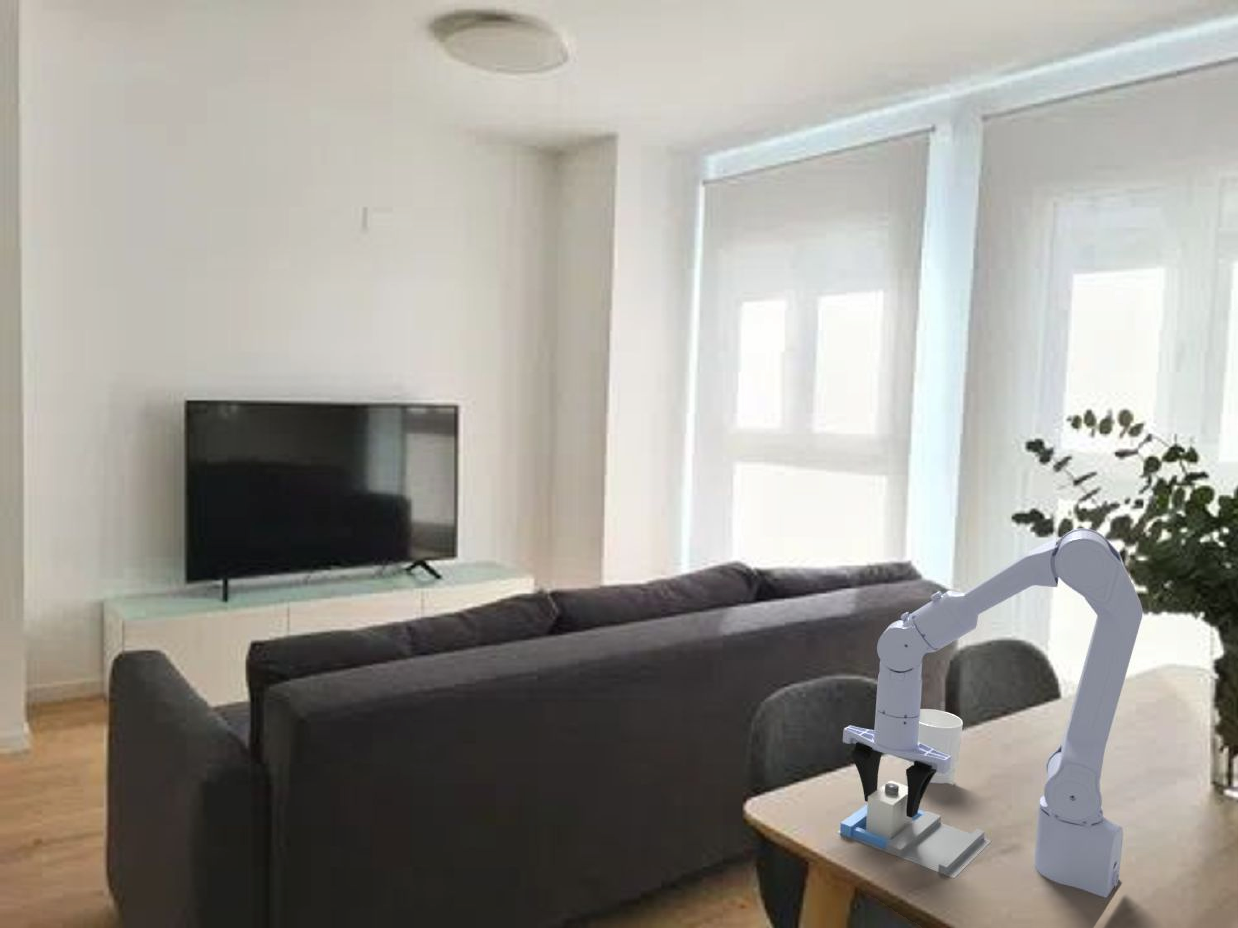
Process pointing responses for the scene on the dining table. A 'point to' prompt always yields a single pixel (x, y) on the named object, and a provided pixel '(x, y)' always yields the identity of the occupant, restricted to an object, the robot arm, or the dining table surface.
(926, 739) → the white cup
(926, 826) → the board
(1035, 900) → the dining table surface
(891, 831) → the white knob-topped box
